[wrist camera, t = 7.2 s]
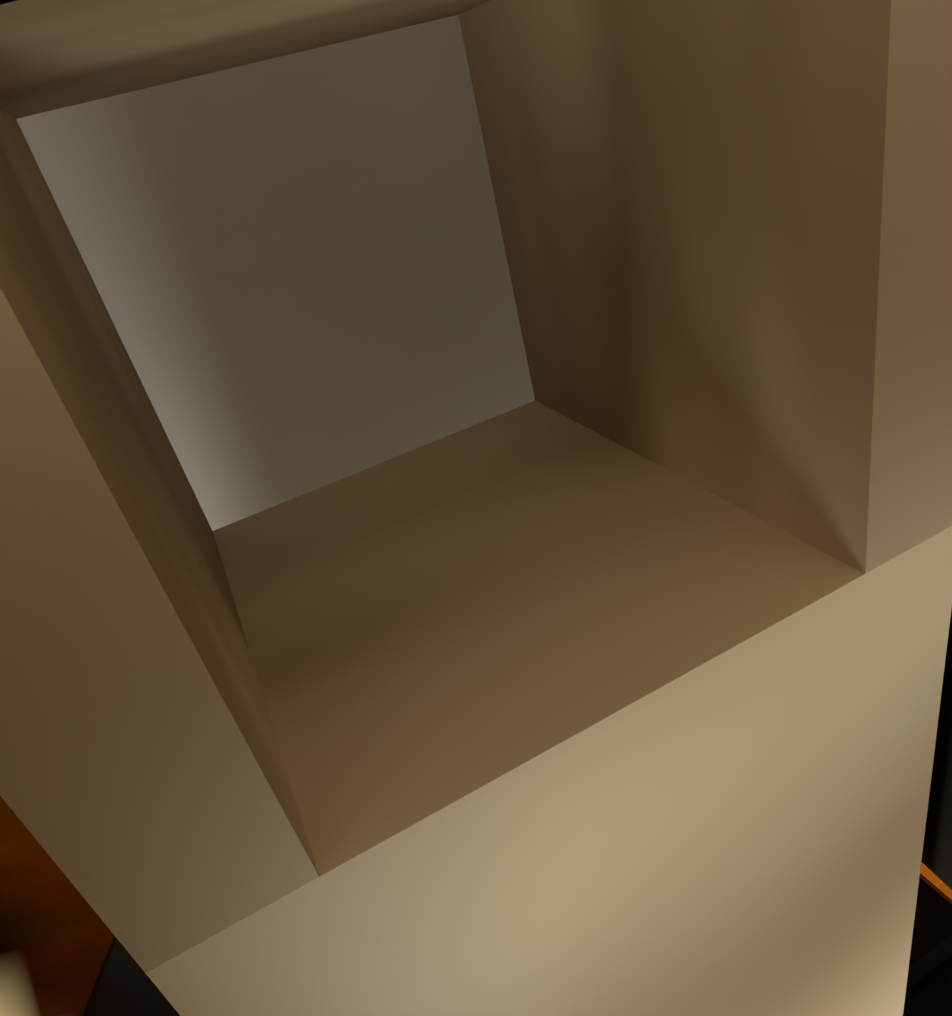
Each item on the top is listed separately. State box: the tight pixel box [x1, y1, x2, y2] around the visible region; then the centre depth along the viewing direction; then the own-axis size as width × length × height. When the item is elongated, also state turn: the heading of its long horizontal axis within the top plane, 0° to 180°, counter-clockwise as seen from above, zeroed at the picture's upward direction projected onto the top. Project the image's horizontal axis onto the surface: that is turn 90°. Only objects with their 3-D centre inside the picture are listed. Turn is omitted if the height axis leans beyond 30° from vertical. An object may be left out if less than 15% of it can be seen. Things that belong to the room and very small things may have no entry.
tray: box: [16, 15, 535, 531], centre depth 9 cm, size 16×9×4 cm, turn 13°
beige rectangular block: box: [0, 0, 952, 1016], centre depth 6 cm, size 12×5×4 cm, turn 13°
